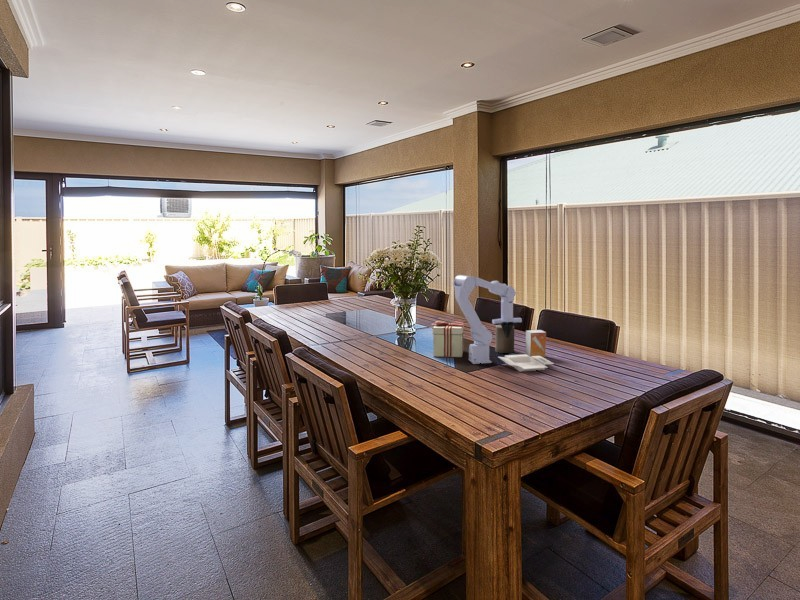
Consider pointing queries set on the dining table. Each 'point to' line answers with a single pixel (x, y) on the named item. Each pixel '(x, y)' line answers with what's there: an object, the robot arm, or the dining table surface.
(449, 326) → the gift box
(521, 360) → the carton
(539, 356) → the flap
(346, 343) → the dining table surface
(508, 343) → the pillar candle
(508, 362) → the flap
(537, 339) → the small box
